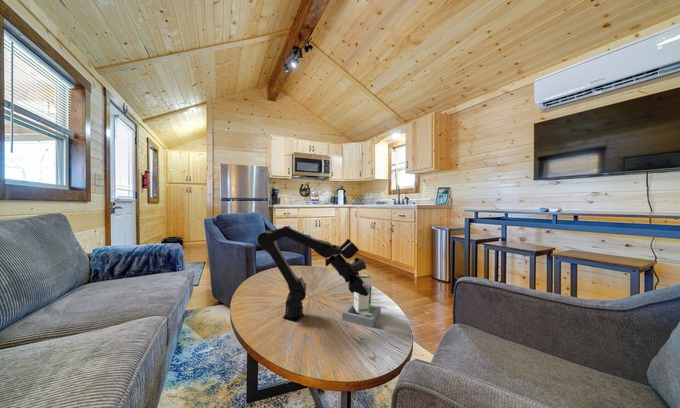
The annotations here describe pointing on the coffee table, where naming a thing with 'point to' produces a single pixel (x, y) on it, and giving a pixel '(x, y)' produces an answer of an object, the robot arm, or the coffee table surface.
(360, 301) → the syrup box
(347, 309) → the socket board
